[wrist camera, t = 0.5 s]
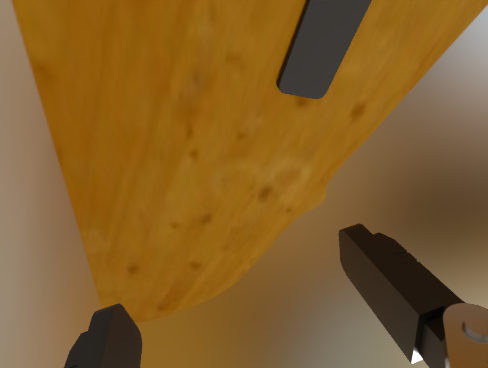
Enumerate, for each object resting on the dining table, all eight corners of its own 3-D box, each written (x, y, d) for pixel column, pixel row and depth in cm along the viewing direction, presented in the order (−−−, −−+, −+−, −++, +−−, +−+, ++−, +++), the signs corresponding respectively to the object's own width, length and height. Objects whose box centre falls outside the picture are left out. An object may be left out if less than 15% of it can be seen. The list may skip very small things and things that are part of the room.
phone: (386, -29, 29) (323, 100, 39) (382, -30, 30) (320, 97, 39) (328, -53, 27) (276, 92, 36) (325, -54, 27) (274, 89, 37)
